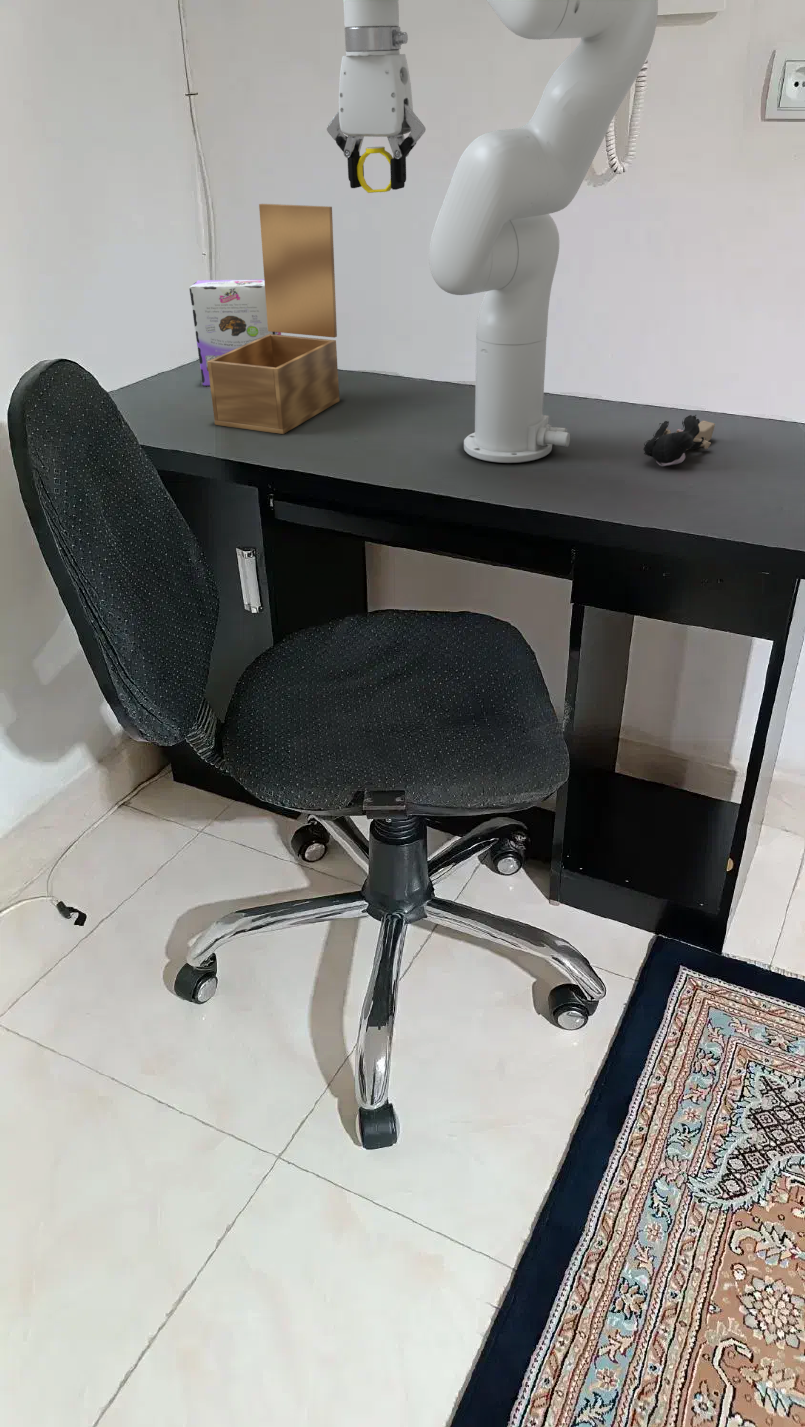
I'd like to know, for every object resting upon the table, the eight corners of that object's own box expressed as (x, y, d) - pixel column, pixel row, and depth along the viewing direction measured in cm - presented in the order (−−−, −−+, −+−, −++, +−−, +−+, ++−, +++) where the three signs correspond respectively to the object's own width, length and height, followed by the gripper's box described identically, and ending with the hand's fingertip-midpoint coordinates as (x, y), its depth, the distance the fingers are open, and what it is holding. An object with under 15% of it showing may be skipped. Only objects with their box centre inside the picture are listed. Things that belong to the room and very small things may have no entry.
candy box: (286, 377, 184) (277, 277, 175) (279, 386, 179) (270, 285, 170) (209, 376, 185) (197, 278, 176) (201, 386, 180) (188, 285, 171)
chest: (283, 434, 157) (277, 369, 152) (214, 424, 162) (206, 361, 157) (339, 401, 171) (336, 340, 166) (274, 393, 176) (269, 333, 170)
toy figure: (668, 436, 153) (635, 463, 142) (679, 393, 150) (646, 418, 138) (715, 449, 151) (686, 477, 139) (727, 406, 147) (698, 432, 136)
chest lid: (329, 207, 155) (346, 203, 159) (258, 204, 160) (276, 201, 164) (334, 337, 165) (350, 331, 169) (267, 331, 170) (284, 325, 174)
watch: (400, 192, 154) (399, 146, 151) (392, 194, 152) (390, 148, 149) (363, 191, 157) (362, 146, 153) (355, 193, 154) (353, 147, 151)
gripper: (440, 41, 144) (441, 186, 153) (331, 44, 150) (339, 183, 160) (416, 42, 138) (419, 193, 148) (304, 45, 145) (314, 189, 155)
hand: (377, 186), depth 154 cm, fingers closed on watch, 6 cm apart
